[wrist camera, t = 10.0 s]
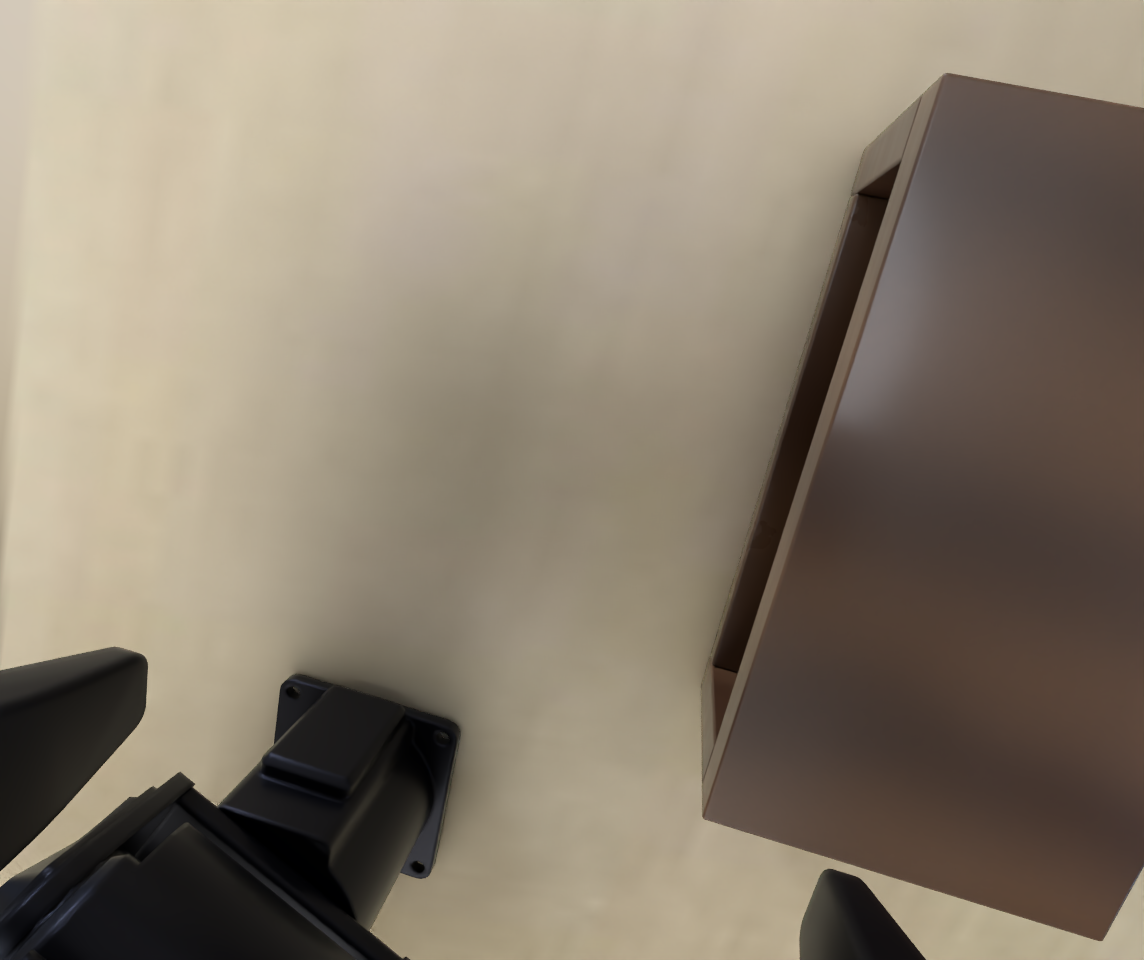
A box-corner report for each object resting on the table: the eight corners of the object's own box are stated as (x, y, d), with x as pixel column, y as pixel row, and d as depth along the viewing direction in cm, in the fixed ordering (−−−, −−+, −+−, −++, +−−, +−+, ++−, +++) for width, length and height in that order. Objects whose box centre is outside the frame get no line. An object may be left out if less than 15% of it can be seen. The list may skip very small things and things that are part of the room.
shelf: (992, 770, 21) (1102, 943, 15) (700, 686, 22) (701, 819, 16) (1242, 220, 17) (1527, 174, 11) (864, 147, 18) (944, 71, 12)
